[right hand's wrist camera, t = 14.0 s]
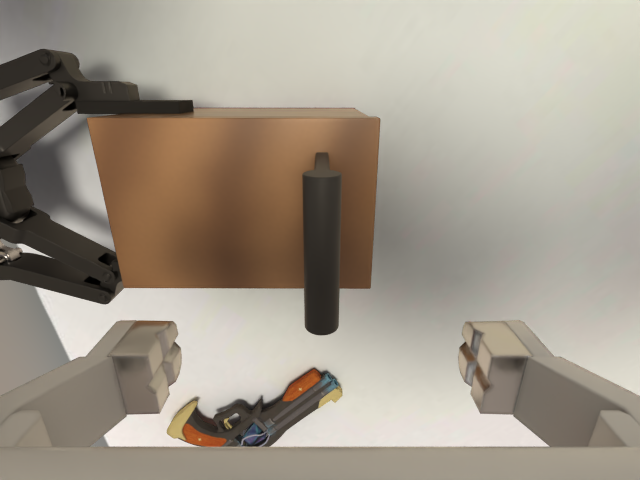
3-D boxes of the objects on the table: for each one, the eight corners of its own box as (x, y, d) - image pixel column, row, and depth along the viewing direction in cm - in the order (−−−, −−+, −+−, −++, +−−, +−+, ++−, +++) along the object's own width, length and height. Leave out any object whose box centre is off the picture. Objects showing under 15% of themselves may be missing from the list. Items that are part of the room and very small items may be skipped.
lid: (377, 116, 21) (409, 132, 13) (368, 279, 25) (389, 365, 17) (98, 116, 21) (-31, 131, 13) (132, 279, 25) (46, 364, 17)
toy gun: (157, 434, 42) (219, 491, 43) (283, 335, 38) (346, 400, 40) (167, 417, 44) (226, 471, 46) (286, 323, 41) (345, 385, 43)
